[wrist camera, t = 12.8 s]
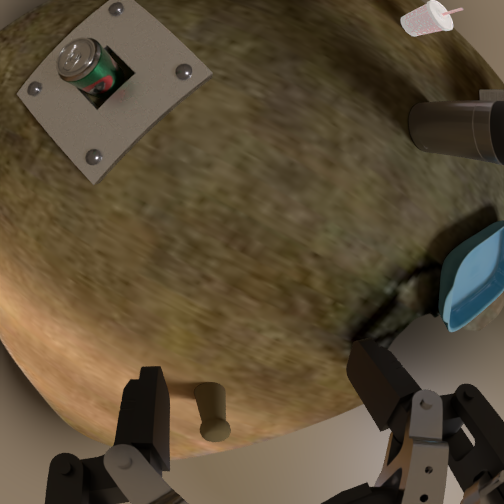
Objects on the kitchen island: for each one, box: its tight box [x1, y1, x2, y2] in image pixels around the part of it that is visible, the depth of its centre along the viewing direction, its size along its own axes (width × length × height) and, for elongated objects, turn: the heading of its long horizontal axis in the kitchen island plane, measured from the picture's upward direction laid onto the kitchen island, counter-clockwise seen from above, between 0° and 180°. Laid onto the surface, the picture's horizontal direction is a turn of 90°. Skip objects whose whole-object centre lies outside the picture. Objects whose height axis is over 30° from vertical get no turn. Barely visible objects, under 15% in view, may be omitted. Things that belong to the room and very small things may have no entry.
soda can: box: [56, 38, 124, 99], centre depth 22 cm, size 5×5×12 cm
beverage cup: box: [401, 0, 463, 36], centre depth 25 cm, size 6×6×14 cm
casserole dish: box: [439, 221, 504, 332], centre depth 51 cm, size 37×22×7 cm, turn 108°
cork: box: [194, 382, 231, 442], centre depth 43 cm, size 6×6×11 cm
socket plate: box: [17, 0, 213, 185], centre depth 26 cm, size 20×20×3 cm
